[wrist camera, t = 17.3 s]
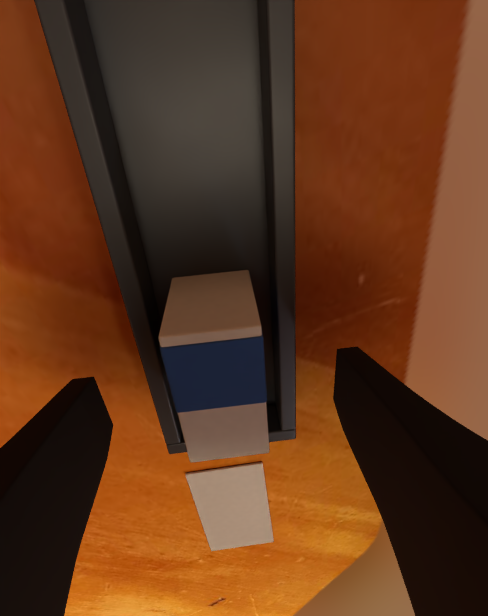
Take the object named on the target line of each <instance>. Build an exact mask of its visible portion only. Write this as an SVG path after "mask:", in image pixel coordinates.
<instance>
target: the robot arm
mask: <svg viewBox="0 0 488 616" xmlns="http://www.w3.org/2000/svg"><path fill="white" fill-rule="evenodd" d="M333 399H334V403H335V406H336V409H337V413H338V416H339V419H340V422H341V425H342V428H343V431H344V433H345V435H346V438H347V440H348V442H349V445H350V447H351V449H352V451H353V453H354V456H355V458H356V460H357V462H358V464H359V467H360V469H361V471H362V473H363V475H364V478H365V480H366V482H367V484H368V486H369V489H370V491H371V493H372V495H373V497H374V500H375V502H376V504H377V507H378V509H379V512H380V514H381V516H382V519H383V521H384V524H385V527H386V530H387V533H388V535H389V539H390V541H391V544H392V547H393V550H394V553H395V556H396V558H397V561H398V564H399V567H400V570H401V573H402V576H403V579H404V582H405V585H406V588H407V591H408V594H409V597H410V600H411V603H412V607H413V610H414V613H415V616H488V441H487V440H486V439H484V438H482V437H481V436H479V435H477V434H475V433H474V432H472V431H471V430H469V429H467V428H466V427H464V426H463V425H461V424H460V423H458V422H456V421H455V420H453V419H452V418H450V417H449V416H448V415H446V414H445V413H443V412H442V411H440V410H439V409H437V408H436V407H434V406H433V405H431V404H430V403H429V402H427V401H426V400H424V399H423V398H422V397H420V396H419V395H418V394H416V393H415V392H413V391H412V390H411V389H410V388H408V387H407V386H406V385H404V384H403V383H402V382H401V381H399V380H398V379H397V378H395V377H394V376H393V375H392V374H390V373H389V372H388V371H387V370H385V369H384V368H383V367H382V366H380V365H379V364H378V363H377V362H376V361H374V360H373V359H372V358H371V357H369V356H368V355H367V354H366V353H365V352H363V351H362V350H361V349H360V348H358V347H350V348H341V349H337V356H336V370H335V383H334V396H333ZM112 429H113V423H112V421H111V418H110V416H109V413H108V411H107V408H106V406H105V403H104V401H103V398H102V396H101V393H100V391H99V388H98V386H97V383H96V381H95V378H94V377H87V378H78V379H72V380H71V381H70V382H69V383H68V384H67V385H66V386H65V387H64V388H63V389H62V390H61V391H60V392H58V393H57V394H56V395H55V396H54V397H53V398H52V399H51V400H50V401H49V402H48V403H47V404H46V405H45V406H44V407H43V408H42V409H41V410H40V411H39V412H38V413H37V414H36V415H35V416H34V417H33V418H32V419H31V420H30V421H29V422H28V423H27V424H26V425H25V426H24V427H23V428H22V429H21V430H19V431H18V432H17V433H16V434H15V435H14V436H13V437H12V438H11V439H10V440H9V441H8V442H7V443H6V444H5V445H3V446H2V447H1V448H0V616H64V613H65V608H66V603H67V599H68V594H69V590H70V585H71V581H72V576H73V571H74V567H75V562H76V558H77V555H78V551H79V548H80V544H81V540H82V537H83V534H84V531H85V528H86V525H87V521H88V518H89V515H90V512H91V509H92V506H93V503H94V499H95V496H96V493H97V490H98V487H99V484H100V480H101V477H102V474H103V471H104V467H105V464H106V461H107V457H108V452H109V446H110V441H111V435H112Z"/></svg>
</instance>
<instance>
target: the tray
mask: <svg viewBox="0 0 488 616" xmlns="http://www.w3.org/2000/svg"><path fill="white" fill-rule="evenodd" d="M34 1H35V5H36V8H37V11H38V15H39V18H40V21H41V25H42V28H43V31H44V35H45V38H46V42H47V45H48V48H49V52H50V55H51V58H52V62H53V65H54V68H55V72H56V75H57V79H58V82H59V85H60V89H61V92H62V95H63V99H64V102H65V105H66V109H67V112H68V116H69V119H70V122H71V126H72V129H73V132H74V136H75V139H76V142H77V146H78V149H79V153H80V156H81V159H82V163H83V166H84V169H85V173H86V176H87V179H88V183H89V186H90V190H91V193H92V196H93V200H94V203H95V206H96V210H97V213H98V216H99V220H100V223H101V227H102V230H103V233H104V237H105V240H106V243H107V247H108V250H109V253H110V257H111V260H112V264H113V267H114V270H115V274H116V277H117V280H118V284H119V287H120V290H121V294H122V297H123V301H124V304H125V307H126V311H127V314H128V317H129V321H130V324H131V327H132V331H133V334H134V337H135V341H136V344H137V348H138V351H139V354H140V358H141V361H142V364H143V368H144V371H145V374H146V378H147V381H148V385H149V388H150V391H151V395H152V398H153V401H154V405H155V408H156V411H157V415H158V418H159V422H160V425H161V428H162V432H163V435H164V438H165V442H166V445H167V449H168V452H169V454H175V453H183V452H187V448H186V444H185V440H184V436H183V433H182V429H181V425H180V421H179V417H178V413H177V412H176V410H175V406H174V402H173V398H172V394H171V390H170V386H169V383H168V379H167V375H166V371H165V367H164V363H163V359H162V355H161V352H160V342H159V339H158V337H159V333H160V328H161V324H162V320H163V316H164V311H165V307H166V303H167V299H168V294H169V290H170V286H171V281H172V278H175V277H185V276H194V275H203V274H213V273H222V272H231V271H241V270H248V271H249V274H250V279H251V283H252V287H253V292H254V296H255V301H256V305H257V309H258V314H259V318H260V323H261V329H262V334H263V342H264V358H265V373H266V389H267V401H266V406H267V421H268V436H269V442H273V441H282V440H290V439H295V438H296V343H295V0H34Z"/></svg>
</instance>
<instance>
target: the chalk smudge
mask: <svg viewBox="0 0 488 616" xmlns="http://www.w3.org/2000/svg"><path fill="white" fill-rule="evenodd" d="M186 478H187V481H188V484H189V487H190V490H191V493H192V496H193V498H194V501H195V504H196V507H197V510H198V513H199V516H200V519H201V522H202V525H203V528H204V531H205V534H206V537H207V540H208V543H209V546H210V549H211V551H215V550H222V549H229V548H235V547H242V546H249V545H255V544H262V543H269V542H274V540H273V533H272V526H271V519H270V512H269V505H268V498H267V491H266V484H265V477H264V471H263V464H262V462H258V463H251V464H244V465H238V466H231V467H224V468H217V469H211V470H204V471H197V472H190V473H186Z"/></svg>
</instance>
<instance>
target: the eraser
mask: <svg viewBox="0 0 488 616" xmlns="http://www.w3.org/2000/svg"><path fill="white" fill-rule="evenodd" d="M158 339H159V342H160V352H161V355H162V359H163V363H164V367H165V371H166V375H167V379H168V383H169V386H170V390H171V394H172V398H173V402H174V406H175V410H176V412H177V413H178V417H179V421H180V425H181V429H182V433H183V436H184V440H185V444H186V448H187V452H188V456H189V460H190V462H198V461H206V460H214V459H223V458H231V457H239V456H247V455H255V454H263V453H269V436H268V421H267V406H266V401H267V389H266V373H265V358H264V342H263V334H262V329H261V323H260V318H259V314H258V309H257V305H256V301H255V296H254V292H253V287H252V283H251V279H250V274H249V271H248V270H241V271H231V272H222V273H213V274H203V275H194V276H185V277H175V278H172V281H171V286H170V290H169V294H168V299H167V303H166V307H165V311H164V316H163V320H162V324H161V328H160V333H159V337H158Z"/></svg>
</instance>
